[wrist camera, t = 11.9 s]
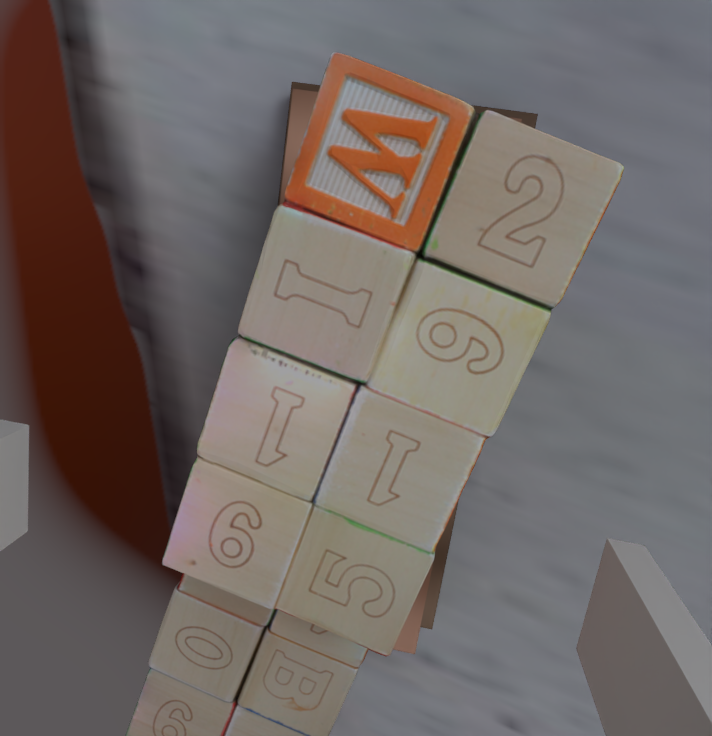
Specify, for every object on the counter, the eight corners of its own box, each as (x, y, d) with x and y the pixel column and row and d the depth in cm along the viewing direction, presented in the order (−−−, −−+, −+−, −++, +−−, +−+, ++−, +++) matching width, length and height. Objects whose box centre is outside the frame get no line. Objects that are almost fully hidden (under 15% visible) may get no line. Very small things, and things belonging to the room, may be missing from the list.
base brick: (299, 89, 28) (271, 58, 23) (531, 120, 27) (554, 94, 22) (242, 572, 34) (211, 627, 29) (431, 612, 33) (432, 676, 28)
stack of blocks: (335, 633, 28) (264, 922, 16) (216, 581, 28) (59, 829, 16) (530, 202, 23) (638, 159, 11) (382, 143, 23) (331, 38, 11)
